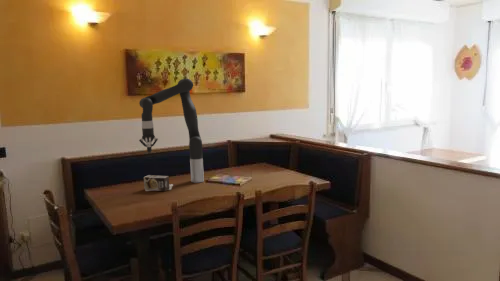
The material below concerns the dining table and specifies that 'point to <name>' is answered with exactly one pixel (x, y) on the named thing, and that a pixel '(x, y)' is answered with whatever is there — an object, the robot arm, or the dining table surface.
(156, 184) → the coffee box
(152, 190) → the mat
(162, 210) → the dining table surface
